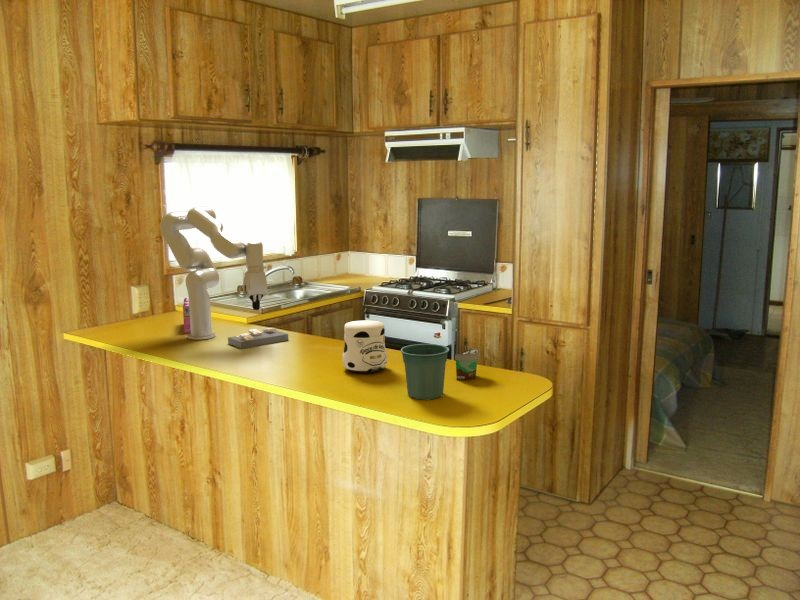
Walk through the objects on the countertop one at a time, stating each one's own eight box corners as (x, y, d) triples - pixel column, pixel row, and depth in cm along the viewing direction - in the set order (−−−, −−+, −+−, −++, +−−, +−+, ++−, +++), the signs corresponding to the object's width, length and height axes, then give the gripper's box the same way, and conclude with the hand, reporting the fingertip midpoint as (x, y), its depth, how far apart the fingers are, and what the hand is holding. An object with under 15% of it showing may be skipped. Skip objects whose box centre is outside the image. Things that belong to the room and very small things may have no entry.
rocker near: (239, 336, 316) (239, 333, 315) (246, 335, 318) (247, 332, 318) (246, 341, 312) (246, 338, 311) (253, 340, 314) (253, 336, 313)
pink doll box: (185, 323, 364) (184, 297, 362) (201, 322, 366) (200, 296, 364) (184, 333, 342) (182, 305, 339) (201, 332, 344) (199, 304, 341)
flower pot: (391, 397, 241) (391, 351, 238) (416, 385, 255) (416, 341, 252) (434, 405, 232) (434, 357, 230) (457, 392, 246) (457, 346, 243)
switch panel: (228, 343, 319) (227, 336, 319) (275, 335, 334) (274, 329, 334) (240, 348, 310) (240, 341, 310) (288, 340, 325) (288, 333, 325)
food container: (469, 383, 256) (470, 356, 254) (454, 381, 259) (454, 354, 258) (484, 375, 266) (485, 349, 265) (469, 373, 270) (470, 347, 268)
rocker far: (263, 332, 330) (262, 328, 330) (270, 331, 332) (269, 327, 332) (269, 332, 325) (269, 328, 325) (276, 330, 328) (275, 327, 327)
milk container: (377, 377, 264) (376, 330, 261) (335, 373, 270) (334, 327, 267) (393, 366, 280) (393, 321, 277) (353, 362, 286) (352, 318, 283)
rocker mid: (248, 332, 325) (248, 329, 325) (255, 331, 327) (255, 328, 327) (254, 336, 321) (254, 333, 320) (261, 335, 323) (261, 331, 323)
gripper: (265, 267, 324) (266, 306, 328) (235, 269, 315) (237, 310, 318) (273, 268, 319) (275, 308, 322) (243, 271, 309) (245, 313, 313)
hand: (256, 309), depth 320 cm, fingers closed
